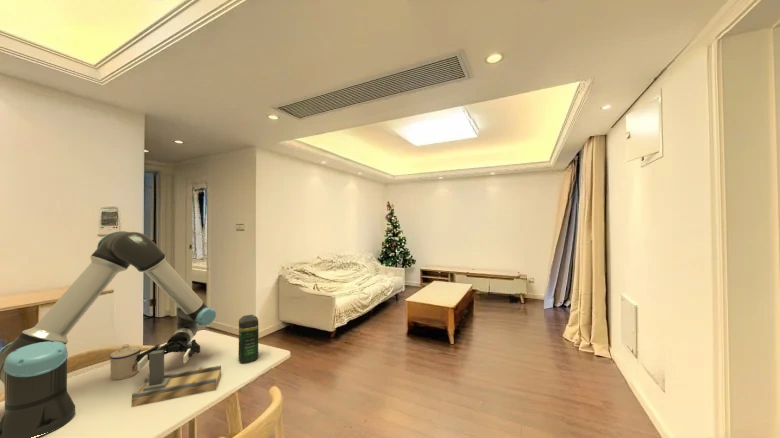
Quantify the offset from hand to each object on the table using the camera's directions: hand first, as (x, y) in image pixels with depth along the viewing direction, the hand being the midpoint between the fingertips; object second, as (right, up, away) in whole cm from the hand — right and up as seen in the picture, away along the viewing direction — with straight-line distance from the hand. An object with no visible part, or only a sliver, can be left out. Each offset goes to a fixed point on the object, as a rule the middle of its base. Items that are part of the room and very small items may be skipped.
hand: (162, 363), depth 103 cm
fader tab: (0, -7, -3) cm, 7 cm away
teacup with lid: (-24, -10, +11) cm, 28 cm away
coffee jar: (+20, -10, +22) cm, 32 cm away
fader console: (+7, -9, 0) cm, 12 cm away
